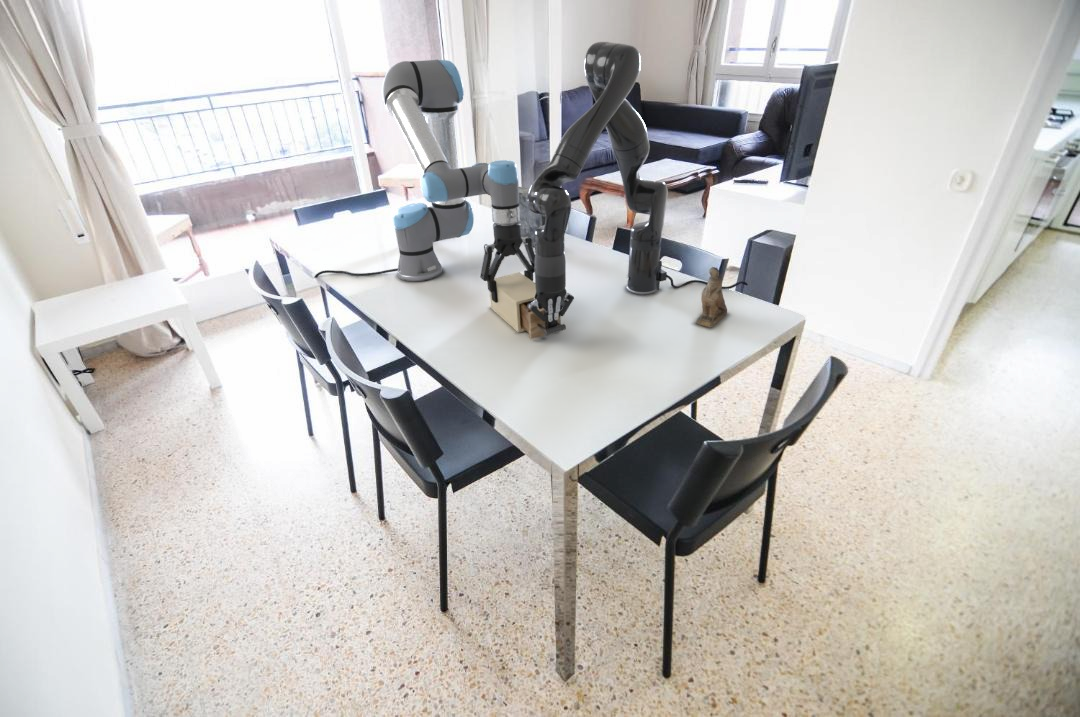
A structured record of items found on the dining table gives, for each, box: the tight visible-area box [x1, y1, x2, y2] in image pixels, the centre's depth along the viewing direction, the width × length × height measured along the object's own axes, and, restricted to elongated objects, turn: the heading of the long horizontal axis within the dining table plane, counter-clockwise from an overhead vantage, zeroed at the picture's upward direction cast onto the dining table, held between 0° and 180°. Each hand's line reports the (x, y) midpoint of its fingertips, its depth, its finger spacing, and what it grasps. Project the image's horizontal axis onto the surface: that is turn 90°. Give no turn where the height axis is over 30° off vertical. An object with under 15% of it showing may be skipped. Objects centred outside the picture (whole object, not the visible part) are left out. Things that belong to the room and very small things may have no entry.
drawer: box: [519, 300, 567, 340], centre depth 136 cm, size 23×9×7 cm, turn 29°
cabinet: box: [488, 271, 536, 333], centre depth 143 cm, size 18×10×9 cm, turn 29°
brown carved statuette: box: [695, 266, 728, 328], centre depth 135 cm, size 12×6×18 cm, turn 136°
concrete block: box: [519, 186, 546, 247], centre depth 195 cm, size 27×9×20 cm, turn 36°
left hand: (511, 296), depth 147 cm, fingers closed on cabinet, 10 cm apart
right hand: (551, 331), depth 130 cm, fingers closed
